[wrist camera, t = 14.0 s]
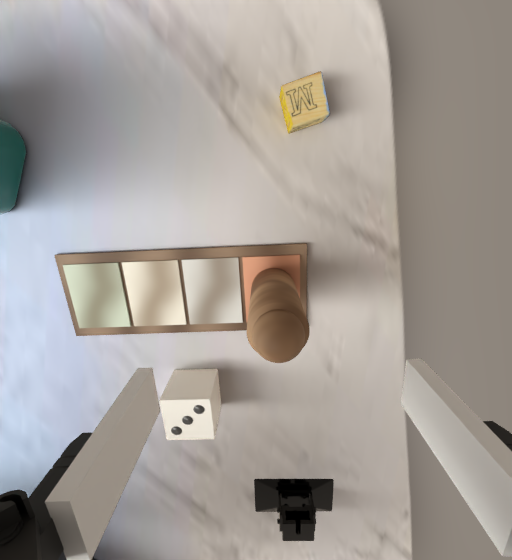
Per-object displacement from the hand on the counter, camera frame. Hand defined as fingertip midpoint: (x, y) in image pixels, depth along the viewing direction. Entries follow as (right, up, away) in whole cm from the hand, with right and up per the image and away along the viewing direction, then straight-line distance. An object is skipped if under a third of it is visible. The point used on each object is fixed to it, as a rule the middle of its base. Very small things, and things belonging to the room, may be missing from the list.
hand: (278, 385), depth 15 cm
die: (-8, -7, +18) cm, 21 cm away
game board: (-9, +4, +15) cm, 17 cm away
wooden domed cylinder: (+1, +5, +14) cm, 14 cm away
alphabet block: (+3, +20, +10) cm, 22 cm away
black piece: (+4, -23, +24) cm, 34 cm away
